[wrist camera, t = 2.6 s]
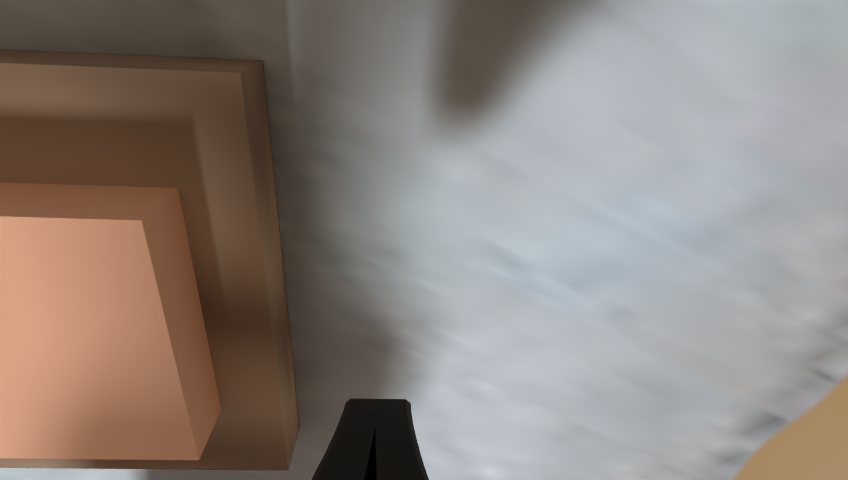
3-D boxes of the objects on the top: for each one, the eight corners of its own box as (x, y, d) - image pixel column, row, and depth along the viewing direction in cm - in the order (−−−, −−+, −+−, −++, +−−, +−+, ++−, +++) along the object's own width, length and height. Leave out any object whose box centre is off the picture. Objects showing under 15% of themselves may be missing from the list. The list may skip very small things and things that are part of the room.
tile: (221, 409, 17) (198, 460, 15) (37, 407, 17) (-7, 458, 15) (177, 188, 13) (141, 220, 11) (-59, 180, 13) (-134, 212, 11)
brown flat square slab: (299, 427, 20) (288, 470, 18) (-63, 422, 20) (-110, 466, 18) (262, 60, 14) (240, 72, 12) (-279, 37, 13) (-387, 46, 11)
